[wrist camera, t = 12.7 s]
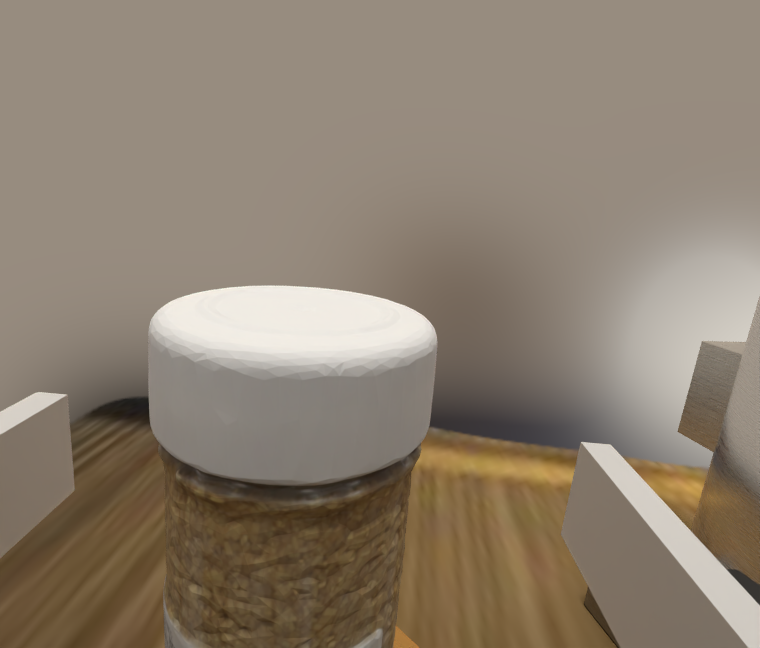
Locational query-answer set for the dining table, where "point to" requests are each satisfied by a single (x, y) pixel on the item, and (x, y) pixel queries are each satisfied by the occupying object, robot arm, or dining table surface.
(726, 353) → the silver rounded container
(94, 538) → the dining table surface
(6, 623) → the dining table surface
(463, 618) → the dining table surface
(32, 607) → the dining table surface
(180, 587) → the sprinkles bottle
